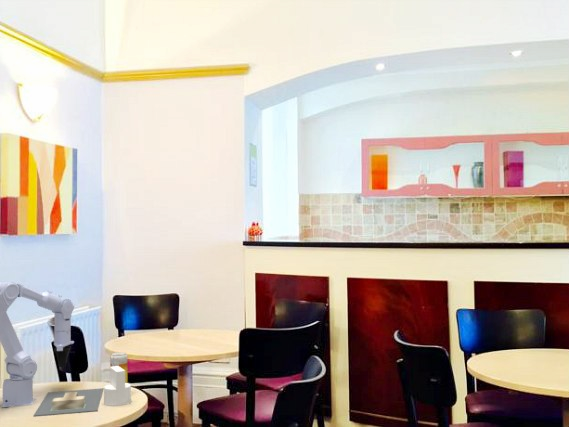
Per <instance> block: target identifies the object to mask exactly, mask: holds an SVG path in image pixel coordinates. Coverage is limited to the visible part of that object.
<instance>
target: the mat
mask: <svg viewBox="0 0 569 427" xmlns="http://www.w3.org/2000/svg"><path fill="white" fill-rule="evenodd" d="M69 392H78V396H85V405H84V408H77V409H65V410H52V401H53V399H54V398H63V397H64V395H65V393H69ZM103 394H104V387H102V388H90V389H89V388H88V389H87V388H86V389H76V390H63V391H61V390H60V391H49V392H47V393H46V395H45V396H44V398H43V400H42V401H41V402H40V404H39V406H38V408H37V409H36V410H35V412H34V414H33V417H35V418H36V417H43V416H44V417H47V416H59V415H71V414H83V413H96V412H99V411H98V410H99V407H100V403H101V399H102V396H103Z"/></svg>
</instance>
